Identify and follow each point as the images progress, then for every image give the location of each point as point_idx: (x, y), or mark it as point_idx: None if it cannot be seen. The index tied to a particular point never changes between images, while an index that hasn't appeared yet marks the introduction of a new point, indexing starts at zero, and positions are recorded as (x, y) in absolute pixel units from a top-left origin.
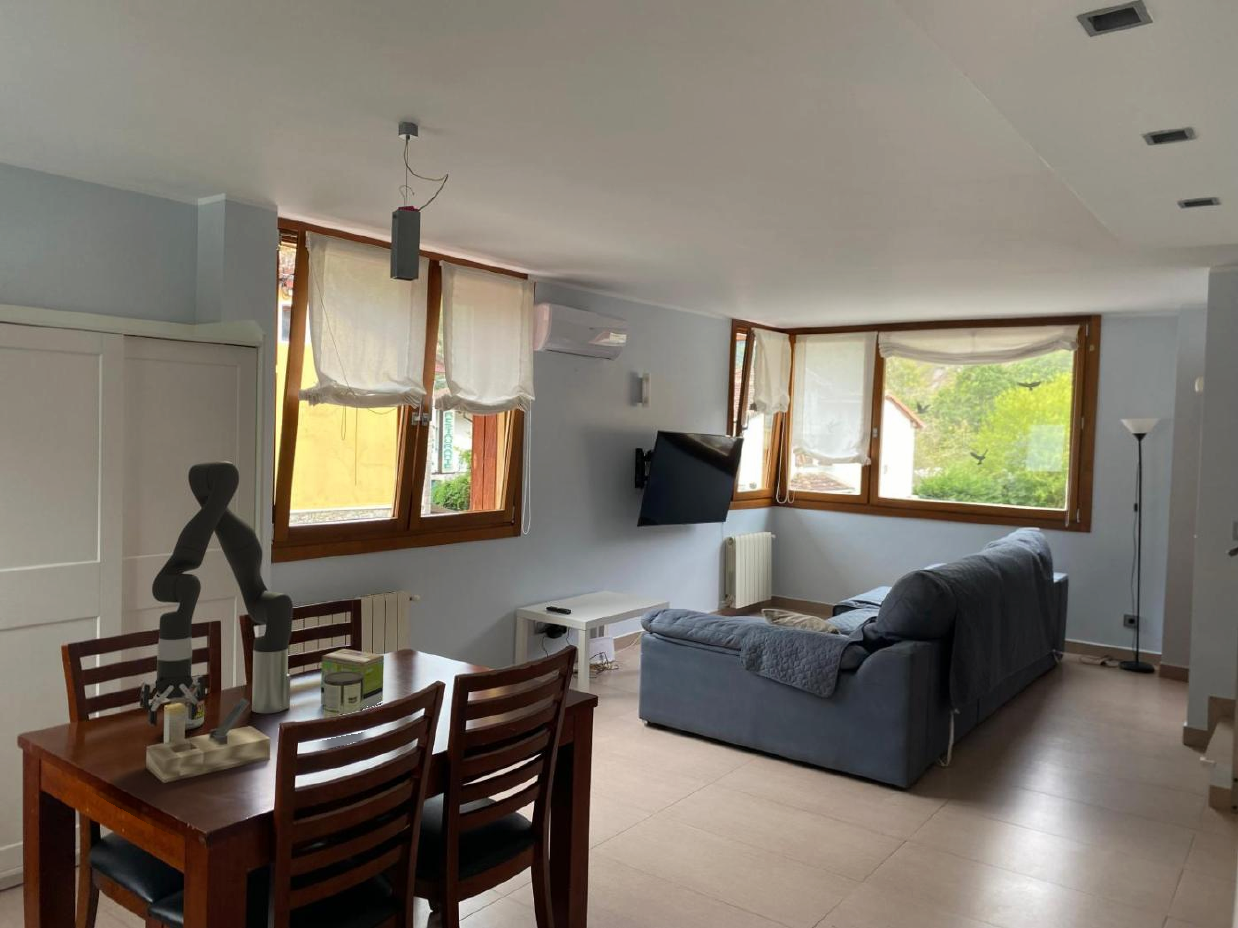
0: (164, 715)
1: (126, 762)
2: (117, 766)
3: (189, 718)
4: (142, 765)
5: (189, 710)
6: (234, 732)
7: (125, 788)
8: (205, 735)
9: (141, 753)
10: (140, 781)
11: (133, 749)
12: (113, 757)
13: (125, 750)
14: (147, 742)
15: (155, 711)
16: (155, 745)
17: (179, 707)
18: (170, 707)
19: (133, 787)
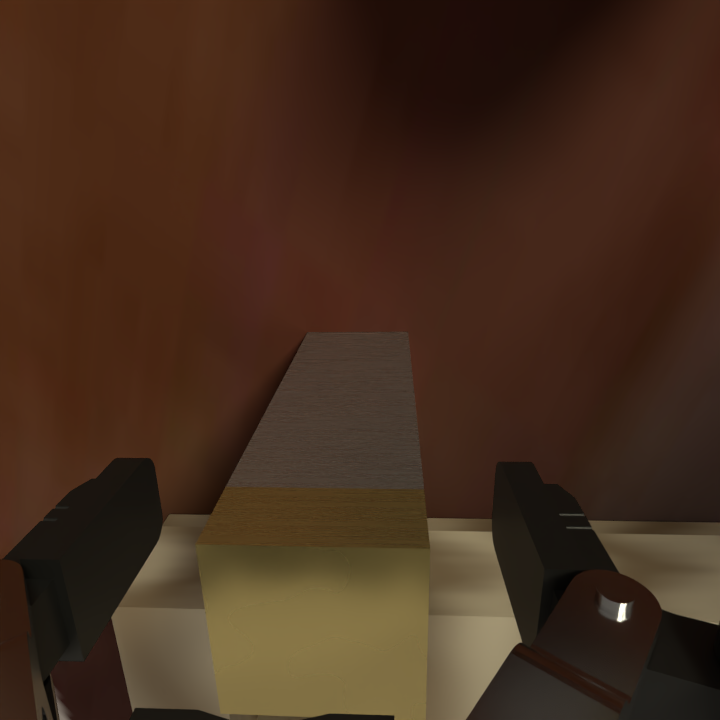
0: (238, 472)
1: (83, 370)
2: (33, 405)
3: (494, 492)
4: (157, 470)
5: (515, 541)
6: None
7: (54, 687)
8: (511, 629)
9: (184, 258)
10: (119, 655)
11: (149, 131)
12: (16, 226)
13: (97, 117)
14: (267, 11)
15: (64, 659)
16: (163, 622)
17: (350, 712)
18: (248, 665)
19: (85, 696)
